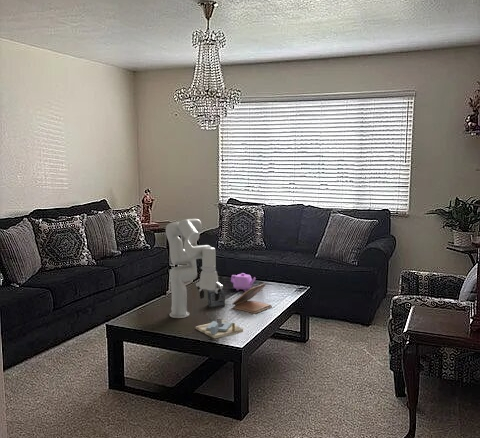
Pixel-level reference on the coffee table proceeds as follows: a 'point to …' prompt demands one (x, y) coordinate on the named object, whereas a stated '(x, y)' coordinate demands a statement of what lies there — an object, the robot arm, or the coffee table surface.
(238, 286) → the teapot
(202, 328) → the post fixture
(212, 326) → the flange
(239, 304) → the case
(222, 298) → the small box
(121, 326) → the coffee table surface
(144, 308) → the coffee table surface
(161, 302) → the coffee table surface
